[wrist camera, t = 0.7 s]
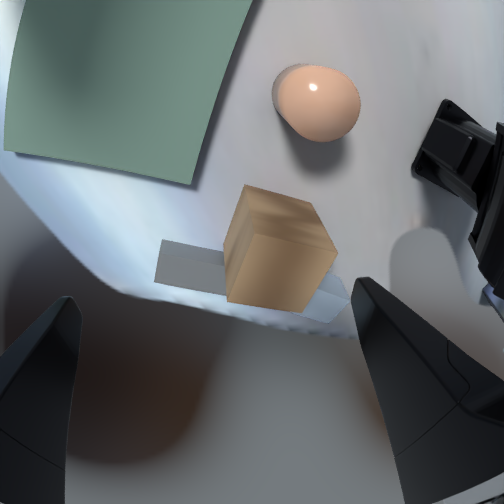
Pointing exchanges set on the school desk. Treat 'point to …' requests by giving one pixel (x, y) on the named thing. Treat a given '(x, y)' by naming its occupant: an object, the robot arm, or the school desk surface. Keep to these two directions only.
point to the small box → (494, 301)
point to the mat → (119, 81)
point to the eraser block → (326, 300)
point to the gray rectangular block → (191, 267)
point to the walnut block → (275, 251)
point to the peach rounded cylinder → (316, 101)
